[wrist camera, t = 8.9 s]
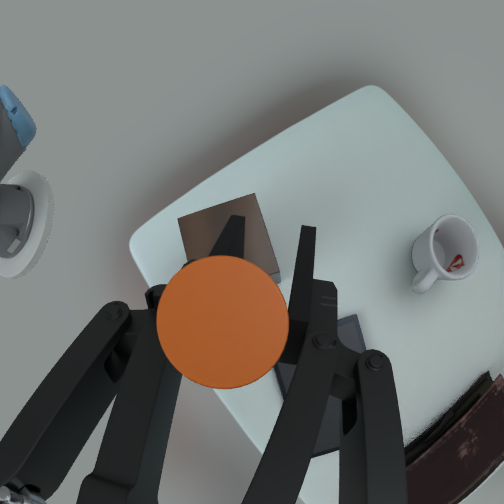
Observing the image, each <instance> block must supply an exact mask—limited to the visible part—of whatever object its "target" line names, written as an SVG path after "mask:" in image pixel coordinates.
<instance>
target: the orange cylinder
mask: <svg viewBox="0 0 504 504" xmlns="http://www.w3.org/2000/svg"><path fill="white" fill-rule="evenodd" d="M156 323H157V332H158V337H159V341H160V344H161V347H162V349H163V351H164V353H165V355H166V356H167V358H168V359H169V361H170V362H171V363H172V365H173V366H174V367H175V368H176V369H177V370H178V371H179V372H180V373H181V374H183V375H184V376H185V377H187V378H188V379H190V380H192V381H194V382H195V383H198V384H200V385H203V386H206V387H210V388H216V389H232V388H238V387H242V386H245V385H248V384H250V383H252V382H255V381H256V380H258V379H259V378H261V377H263V376H264V375H265V374H266V373H267V372H268V371H270V370H271V368H272V367H273V366H274V365H275V364H276V362H277V361H278V359H279V358H280V356H281V354H282V352H283V350H284V348H285V345H286V341H287V337H288V332H289V317H288V310H287V306H286V302H285V300H284V297H283V295H282V293H281V291H280V289H279V287H278V286H277V285H276V283H275V282H274V280H273V279H272V278H271V277H270V276H269V275H268V274H267V273H266V272H265V271H263V270H262V269H261V268H260V267H258V266H256V265H255V264H253V263H251V262H249V261H247V260H244V259H241V258H238V257H233V256H222V255H218V256H209V257H205V258H201V259H199V260H196V261H194V262H192V263H190V264H188V265H187V266H185V267H184V268H182V269H181V270H180V271H179V272H178V273H177V274H176V275H174V276H173V278H172V279H171V280H170V281H169V283H168V284H167V286H166V288H165V289H164V291H163V293H162V296H161V298H160V301H159V305H158V310H157V321H156Z"/></svg>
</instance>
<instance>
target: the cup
mask: <svg viewBox="0 0 504 504" xmlns="http://www.w3.org/2000/svg"><path fill="white" fill-rule="evenodd" d="M478 259H479V242H478V238H477V235H476V233H475V231H474V229H473V228H472V226H471V225H470V224H469V223H468V222H467V221H466V220H465V219H464V218H462V217H460V216H457V215H453V214H448V215H444V216H442V217H440V218H438V219H437V220H436V221H435V222H434V223H433V224H432V225H431V226H430V227H428V228H427V229H426V230H425V231H424V232H423V233H422V234H421V235H420V236H419V237H418V238H417V239H416V241H415V243H414V245H413V249H412V260H413V264H414V266H415V268H416V270H417V271H418V273H417V275H416V276H415V277H414V279H413V280H412V282H411V284H410V287H411V289H412V290H413V291H414V292H415V293H417V294H420V293H423V292H425V291H426V290H428V289H429V288H430V287H431V286H432V285H433V283H434V282H435V281H436V280H461V279H464V278H466V277H468V276H469V275H470V274H471V273H472V272H473V271H474V269H475V267H476V265H477V263H478Z"/></svg>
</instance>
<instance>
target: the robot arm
mask: <svg viewBox="0 0 504 504" xmlns="http://www.w3.org/2000/svg"><path fill="white" fill-rule="evenodd" d="M35 134H36V125H35V123H34V121H33V119H32V118H31V116H30V115H29V113H28V112H27V110H26V109H25V107H24V106H23V105H22V103H21V102H20V101H19V99H18V98H17V97H16V96H15V94H14V93H13V92H12V91H11V90H10V89H9V88H8V87H7V86H5V85H1V86H0V181H1V180H2V179H3V177H4V176H5V175H6V173H7V172H8V171H9V170H10V168H11V167H12V166H13V164H14V163H15V161H17V159H18V158H19V157H20V156H21V154H22V153H23V152H24V151H25V150H26V147H27V146H28V145H29V143H30V142H31V141H32V139H33V138H34V136H35ZM34 212H35V206H34V199H33V196H32V194H31V192H30V191H29V190H28V189H27V188H25V187H23V186H21V185H16V184H0V257H1V258H6V259H10V258H13V257H14V256H16V255H17V254H18V253H19V252H20V251H21V250H22V248H23V247H24V245H25V243H26V242H27V240H28V237H29V235H30V232H31V229H32V225H33V220H34ZM244 239H245V216H238V215H231V216H230V218H229V220H228V222H227V223H226V225H225V227H224V229H223V230H222V232H221V234H220V236H219V238H218V239H217V241H216V243H215V245H214V246H213V248H212V250H211V252H210V254H209V255H208V257H209V256H218V255H222V256H233V257H238V258H241V259H244ZM315 239H316V227H311V226H305V225H302V226H301V233H300V239H299V245H298V251H297V257H296V263H295V269H294V276H293V282H292V288H291V294H290V300H289V306H288V317H289V332H288V337H287V341H286V345H285V348H284V350H283V352H282V354H281V356H280V358H279V362H280V363H286V364H292V365H297V366H296V368H295V371H294V374H293V377H292V380H291V383H290V386H289V389H288V391H287V394H286V397H285V400H284V402H283V405H282V408H281V410H280V413H279V416H278V418H277V421H276V424H275V426H274V429H273V431H272V434H271V436H270V439H269V441H268V444H267V446H266V449H265V451H264V454H263V456H262V458H261V461H260V463H259V465H258V468H257V470H256V473H255V475H254V477H253V479H252V482H251V484H250V486H249V488H248V491H247V493H246V495H245V497H244V499H243V501H242V504H295V503H296V500H297V497H298V495H299V492H300V489H301V486H302V484H303V481H304V478H305V475H306V472H307V469H308V466H309V463H310V460H311V457H312V454H313V450H314V447H315V444H316V441H317V437H318V434H319V431H320V427H321V423H322V420H323V416H324V413H325V409H326V405H327V401H328V397H329V395H331V396H333V397H336V398H338V411H339V504H408V491H407V475H406V463H405V452H404V443H403V435H402V427H401V419H400V412H399V406H398V400H397V393H396V388H395V382H394V377H393V371H392V366H391V363H390V360H389V358H388V357H387V356H386V355H385V354H384V353H382V352H380V351H378V350H373V349H371V350H366V351H364V352H362V353H361V354H360V353H358V352H356V351H353V350H351V349H349V348H347V347H346V346H345V345H343V344H342V342H341V341H340V340H339V337H338V333H337V289H336V287H335V285H334V283H333V282H330V281H323V280H317V279H313V270H314V256H315ZM194 261H196V260H195V259H191V260H190V261H188V262H187V263H186V264H184V265H183V267H182V268H184V267H185V266H187V265H188V264H190V263H192V262H194ZM182 268H181V269H182ZM166 286H167V285H166V284H160V285H156V286H153V287H151V288H150V289H148V290H147V292H146V293H145V297H146V301H147V305H148V309H145V310H130V309H129V307H128V305H127V304H126V303H124V302H121V301H113V302H110V303H107V304H106V305H105V306H103V307H102V308H101V310H100V311H99V312H98V313H97V314H96V315H95V316H94V318H93V319H92V320H91V321H90V322H89V324H88V325H87V326H86V327H85V328H84V330H83V331H82V332H81V333H80V334H79V336H78V337H77V338H76V339H75V340H74V342H73V343H72V344H71V345H70V347H69V348H68V349H67V350H66V352H65V353H64V354H63V356H62V357H61V358H60V359H59V361H58V362H57V363H56V364H55V366H54V367H53V368H52V369H51V371H50V372H49V373H48V375H47V376H46V377H45V379H44V380H43V381H42V383H41V384H40V386H39V387H38V388H37V389H36V391H35V392H34V393H33V395H32V396H31V398H30V399H29V400H28V402H27V403H26V405H25V406H24V407H23V409H22V410H21V412H20V413H19V415H18V416H17V417H16V419H15V420H14V422H13V423H12V425H11V426H10V428H9V429H8V431H7V432H6V434H5V435H4V437H3V438H2V440H1V441H0V504H46V503H45V501H46V500H47V499H48V498H49V497H51V496H52V494H53V493H54V492H55V491H56V490H57V489H58V487H59V486H60V484H61V483H62V482H63V480H64V478H65V477H66V475H67V473H68V472H69V470H70V468H71V467H72V465H73V463H74V462H75V460H76V458H77V456H78V455H79V453H80V451H81V450H82V448H83V446H84V445H85V443H86V442H87V440H88V439H89V437H90V435H91V434H92V432H93V430H94V429H95V427H96V426H97V424H98V422H99V421H100V419H101V418H102V416H103V415H104V413H105V411H106V410H107V408H108V406H109V405H110V403H111V402H112V400H113V399H114V397H115V396H116V394H117V396H116V399H115V402H114V405H113V408H112V411H111V414H110V417H109V420H108V423H107V427H106V430H105V433H104V437H103V440H102V443H101V447H100V450H99V454H98V457H97V461H96V464H95V468H94V470H93V472H92V473H91V474H89V475H87V476H86V477H85V478H84V480H83V481H82V484H81V487H80V491H79V495H78V499H77V503H76V504H158V489H159V484H160V479H161V473H162V468H163V463H164V458H165V453H166V448H167V442H168V438H169V433H170V429H171V424H172V419H173V414H174V410H175V405H176V401H177V396H178V391H179V387H180V383H181V379H182V374H181V373H180V372H179V371H178V370H177V369H176V368H175V367H174V366H173V365H172V363H171V362H170V361H169V359H168V358H167V356H166V355H165V353H164V351H163V349H162V347H161V344H160V341H159V337H158V332H157V323H156V321H157V310H158V305H159V301H160V298H161V296H162V293H163V291H164V289H165V288H166Z"/></svg>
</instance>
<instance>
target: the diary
mask: <svg viewBox="0 0 504 504" xmlns="http://www.w3.org/2000/svg"><path fill="white" fill-rule="evenodd" d="M404 452H405V463H406V475H407V491H408V504H458V503H459V502H461V501H462V500H463V499H464V498H466V497H467V496H468V495H469V494H470V493H472V492H473V491H474V490H475V489H476V488H477V487H478V486H479V485H480V484H481V483H482V482H483V481H484V480H485V479H486V478H487V477H488V476H489V475H490V474H491V473H492V472H493V471H494V470H495V469H496V468H497V467H498V466H499V465H500V464H501V463H502V462H503V461H504V378H503V377H502V375H501V374H499V376H498V377H497V378H496V379H495V381H492V379H491V376H490V373H489V371H487V372H486V373H485V374H484V375H483V376H482V377H481V378H480V379H479V380H478V381H477V382H476V383H475V384H474V385H473V386H472V387H471V388H470V389H469V390H468V391H467V392H466V393H465V394H464V395H463V396H462V397H461V398H460V399H459V401H458V402H457V403H456V404H455V405H454V406H453V407H452V408H451V409H450V410H449V411H448V412H447V413H446V414H445V415H444V416H443V417H442V418H441V419H440V420H439V421H438V422H437V423H436V424H435V425H433V426H432V427H431V428H430V429H429V430H427V431H426V432H425V433H424V434H422V435H421V436H420V437H418V438H417V439H416V440H414V441H413V442H412V443H410V444H409V445H408V446H406V447H405V448H404Z"/></svg>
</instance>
